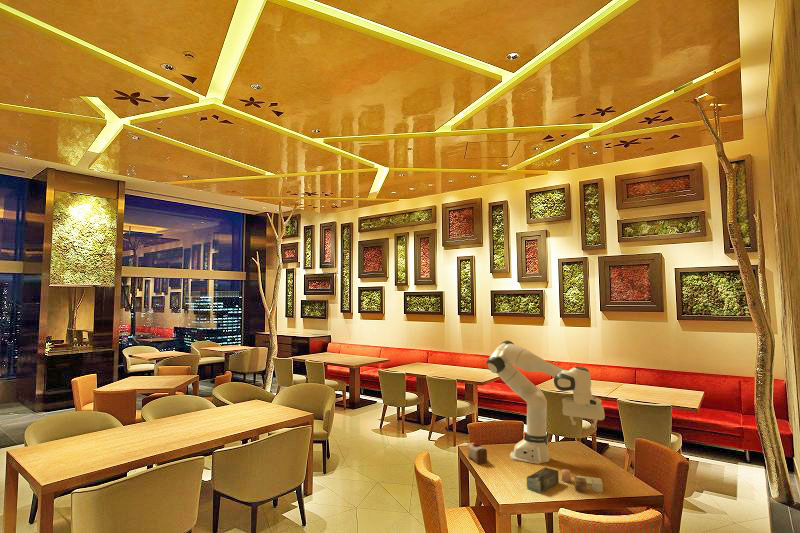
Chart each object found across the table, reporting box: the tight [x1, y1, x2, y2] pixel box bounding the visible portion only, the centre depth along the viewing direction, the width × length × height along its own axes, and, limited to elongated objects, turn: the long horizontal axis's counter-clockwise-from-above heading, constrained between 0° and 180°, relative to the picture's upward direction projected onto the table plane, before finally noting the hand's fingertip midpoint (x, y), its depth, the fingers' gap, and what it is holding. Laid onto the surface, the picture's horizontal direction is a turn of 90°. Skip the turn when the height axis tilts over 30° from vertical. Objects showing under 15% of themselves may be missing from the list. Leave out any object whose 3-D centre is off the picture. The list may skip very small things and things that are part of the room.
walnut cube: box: [574, 476, 588, 494], centre depth 220 cm, size 5×5×5 cm
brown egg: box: [560, 468, 572, 484], centre depth 231 cm, size 4×4×5 cm
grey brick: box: [591, 476, 604, 493], centre depth 221 cm, size 8×4×4 cm, turn 163°
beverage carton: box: [526, 466, 560, 494], centre depth 225 cm, size 8×19×7 cm, turn 135°
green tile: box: [575, 475, 595, 486], centre depth 231 cm, size 9×9×1 cm
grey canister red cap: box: [467, 442, 488, 465], centre depth 261 cm, size 14×8×10 cm, turn 19°
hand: (583, 426), depth 232 cm, fingers open, 8 cm apart
